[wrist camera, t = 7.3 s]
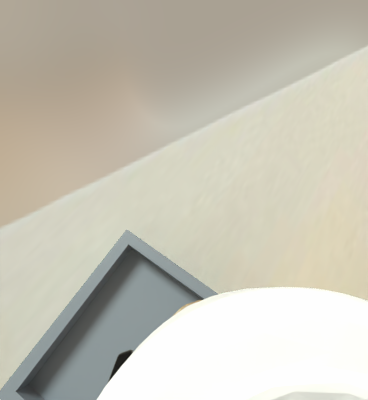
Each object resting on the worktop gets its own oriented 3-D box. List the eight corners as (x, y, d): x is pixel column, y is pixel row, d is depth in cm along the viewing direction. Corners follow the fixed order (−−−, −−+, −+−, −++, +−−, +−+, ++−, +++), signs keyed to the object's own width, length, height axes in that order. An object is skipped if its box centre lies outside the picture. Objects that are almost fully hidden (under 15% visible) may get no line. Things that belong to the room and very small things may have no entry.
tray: (266, 332, 21) (276, 335, 19) (166, 523, 17) (165, 553, 15) (131, 236, 23) (126, 229, 21) (15, 385, 19) (-4, 395, 17)
